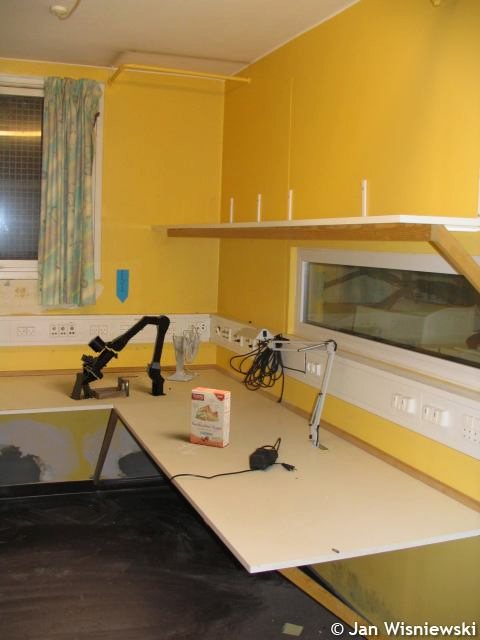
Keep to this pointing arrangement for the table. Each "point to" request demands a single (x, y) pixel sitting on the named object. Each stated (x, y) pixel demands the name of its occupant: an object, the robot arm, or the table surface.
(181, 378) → the pale grey desk fan
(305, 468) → the table surface
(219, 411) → the cracker box
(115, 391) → the cradle
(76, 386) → the phone stand
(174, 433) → the table surface
